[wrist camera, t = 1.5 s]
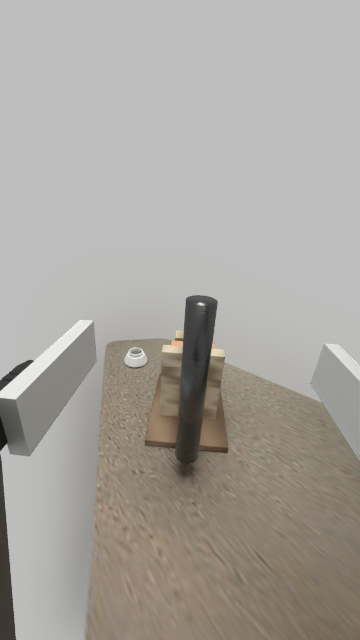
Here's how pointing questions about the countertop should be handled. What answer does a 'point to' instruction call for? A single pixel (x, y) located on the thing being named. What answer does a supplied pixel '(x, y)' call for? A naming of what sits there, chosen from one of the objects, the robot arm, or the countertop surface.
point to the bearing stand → (167, 402)
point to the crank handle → (194, 374)
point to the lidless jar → (135, 358)
